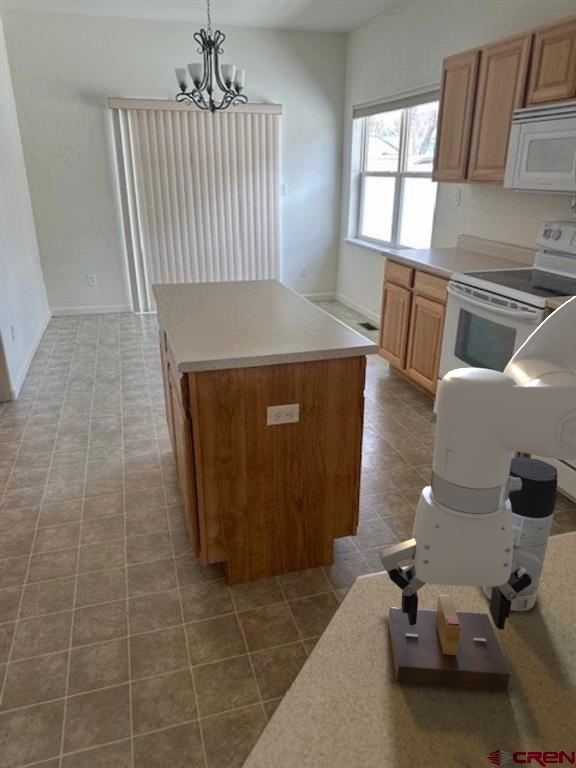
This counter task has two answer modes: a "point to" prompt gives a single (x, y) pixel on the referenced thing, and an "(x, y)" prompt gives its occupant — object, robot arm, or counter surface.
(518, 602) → the spray can
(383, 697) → the counter surface
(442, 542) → the robot arm
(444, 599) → the block
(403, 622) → the plate
